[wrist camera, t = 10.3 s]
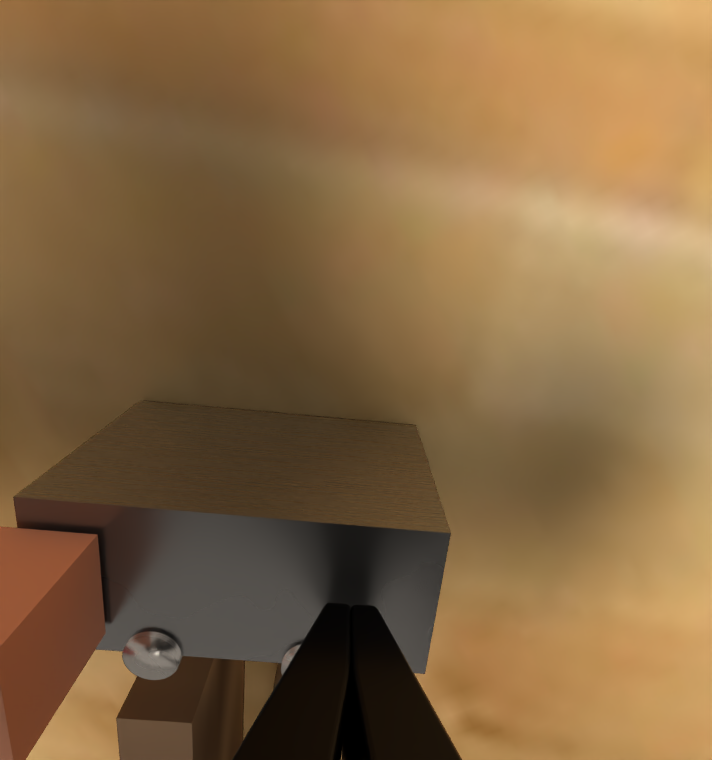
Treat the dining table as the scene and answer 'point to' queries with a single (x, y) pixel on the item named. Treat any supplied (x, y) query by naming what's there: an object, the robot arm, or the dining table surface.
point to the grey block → (248, 530)
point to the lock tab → (44, 627)
